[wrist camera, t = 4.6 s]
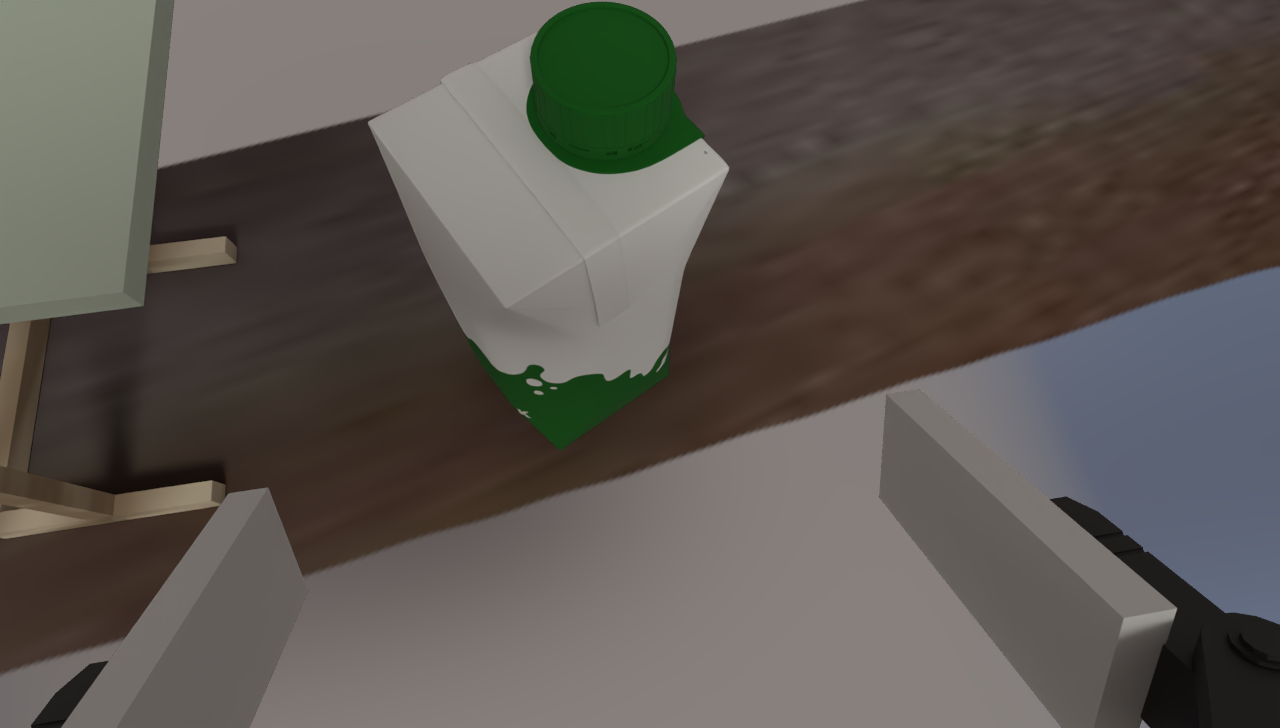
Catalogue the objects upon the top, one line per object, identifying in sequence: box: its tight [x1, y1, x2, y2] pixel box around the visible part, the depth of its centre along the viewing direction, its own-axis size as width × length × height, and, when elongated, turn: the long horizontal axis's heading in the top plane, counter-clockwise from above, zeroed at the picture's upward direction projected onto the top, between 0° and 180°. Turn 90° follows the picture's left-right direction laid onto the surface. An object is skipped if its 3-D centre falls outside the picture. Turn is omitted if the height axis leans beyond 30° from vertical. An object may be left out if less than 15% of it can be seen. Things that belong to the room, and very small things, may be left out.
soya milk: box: [368, 2, 729, 451], centre depth 27 cm, size 9×9×20 cm
